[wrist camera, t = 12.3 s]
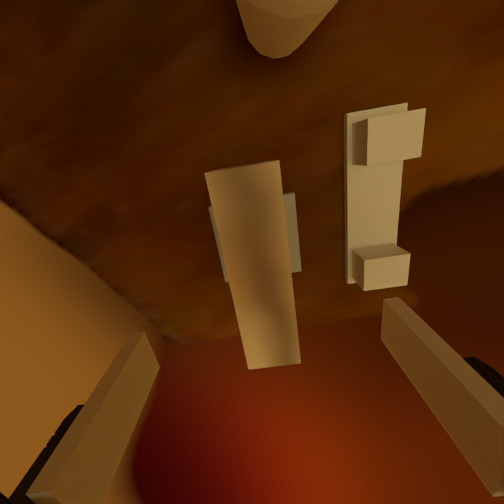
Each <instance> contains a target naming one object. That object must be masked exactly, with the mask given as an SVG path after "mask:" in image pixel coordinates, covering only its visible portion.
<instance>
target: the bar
mask: <svg viewBox="0 0 504 504" xmlns="http://www.w3.org/2000/svg"><path fill="white" fill-rule="evenodd" d="M205 178H206V182H207V187H208V191H209V196H210V200H211V204H212V209H213V213H214V218H215V222H216V227H217V231H218V236H219V240H220V244H221V249H222V253H223V258H224V262H225V267H226V271H227V276H228V280H229V285H230V289H231V293H232V298H233V302H234V307H235V311H236V316H237V320H238V325H239V329H240V333H241V338H242V342H243V347H244V351H245V356H246V360H247V365H248V369H257V368H265V367H273V366H282V365H289V364H298V363H301V359H300V351H299V341H298V331H297V322H296V312H295V303H294V294H293V284H292V275H291V266H290V256H289V247H288V238H287V228H286V219H285V210H284V200H283V191H282V181H281V172H280V163H279V160H268V161H262V162H257V163H251V164H245V165H239V166H233V167H227V168H221V169H216V170H212V171H209V172H206V173H205Z"/></svg>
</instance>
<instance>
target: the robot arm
mask: <svg viewBox="0 0 504 504" xmlns="http://www.w3.org/2000/svg"><path fill="white" fill-rule="evenodd" d="M381 340H382V341H383V343H384V344H385V346H386V347H387V349H388V350H389V351H390V353H391V354H392V355H393V357H394V358H395V360H396V361H397V363H398V364H399V365H400V367H401V368H402V370H403V371H404V372H405V374H406V375H407V377H408V378H409V380H410V381H411V382H412V384H413V385H414V386H415V388H416V389H417V391H418V392H419V394H420V395H421V396H422V398H423V399H424V401H425V402H426V403H427V405H428V406H429V408H430V409H431V410H432V412H433V413H434V415H435V416H436V418H437V419H438V420H439V422H440V423H441V425H442V426H443V427H444V429H445V430H446V432H447V433H448V434H449V436H450V437H451V438H452V440H453V441H454V443H455V444H456V446H457V447H458V449H459V450H460V451H461V453H462V454H463V456H464V457H465V458H466V460H467V461H468V463H469V464H470V465H471V467H472V468H473V470H474V471H475V472H476V474H477V475H478V477H479V478H480V479H481V481H482V482H483V484H484V485H485V486H486V488H487V489H488V491H489V492H490V494H491V495H492V496H493V497H494V496H504V378H503V377H502V376H501V375H500V374H499V373H498V372H497V371H496V370H494V369H493V368H492V367H491V366H489V365H487V364H485V363H484V362H482V361H480V360H479V359H477V358H475V357H466V358H461V357H460V356H459V355H458V354H457V353H456V352H455V351H454V350H453V349H452V348H451V347H450V346H449V345H448V344H447V343H446V342H445V341H444V340H442V338H441V337H440V336H439V335H437V334H436V333H435V332H434V331H433V330H432V329H431V328H430V327H429V326H428V325H427V324H426V323H425V322H424V321H423V320H422V319H421V318H420V317H419V316H417V314H416V313H414V312H413V311H412V310H411V309H410V308H409V307H408V306H407V305H406V304H405V303H404V302H403V301H402V300H401V299H400V298H399V297H396V298H389V299H384V303H383V316H382V329H381ZM159 368H160V367H159V364H158V362H157V360H156V358H155V355H154V353H153V351H152V348H151V346H150V344H149V341H148V339H147V337H146V334H145V332H139V333H132V334H131V335H130V336H129V338H128V339H127V341H126V342H125V344H124V346H123V347H122V348H121V350H120V351H119V353H118V354H117V356H116V357H115V359H114V360H113V362H112V363H111V365H110V367H109V368H108V370H107V371H106V373H105V374H104V376H103V377H102V379H101V380H100V382H99V383H98V385H97V386H96V388H95V389H94V391H93V392H92V394H91V396H90V397H89V398H88V400H87V402H86V403H85V404H84V405H78V406H77V407H76V408H75V409H74V410H73V411H72V412H71V413H70V414H69V415H68V416H67V417H66V418H65V419H64V420H63V422H62V423H61V425H60V426H59V427H58V429H57V430H56V432H55V435H53V436H52V437H51V439H50V441H49V442H48V443H47V446H46V448H44V449H43V450H42V452H41V453H40V455H39V456H38V457H37V459H36V460H35V462H34V463H33V465H32V466H31V468H30V469H29V471H28V472H27V473H26V475H25V476H24V478H23V479H22V480H21V482H20V483H19V485H18V486H17V488H16V489H15V490H14V492H13V493H12V495H11V496H10V497H9V499H8V498H7V497H5V496H4V495H3V494H2V493H1V492H0V504H102V503H103V501H104V499H105V496H106V494H107V492H108V489H109V487H110V484H111V482H112V479H113V477H114V475H115V473H116V470H117V468H118V465H119V463H120V461H121V458H122V456H123V454H124V451H125V449H126V446H127V444H128V442H129V439H130V437H131V434H132V432H133V430H134V427H135V425H136V422H137V420H138V418H139V415H140V413H141V411H142V408H143V406H144V404H145V401H146V399H147V396H148V394H149V392H150V389H151V387H152V384H153V382H154V380H155V377H156V375H157V373H158V370H159Z"/></svg>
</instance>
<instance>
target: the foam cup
mask: <svg viewBox="0 0 504 504" xmlns="http://www.w3.org/2000/svg"><path fill="white" fill-rule="evenodd" d="M338 1H339V0H236V3H237V6H238V9H239V12H240V16H241V19H242V22H243V25H244V28H245V32H246V35H247V38H248V41H249V42H250V43H251V44H252V45H253V47H254V48H255V49H256V50H257V51H258V52H259V54H262V55H265V56H267V57H270V58H272V59H275V58H280V57H286V56H288V55H290V54H291V53H292V52H293V51H294V50H296V49H297V48H298V47H299V46H300V45H301V44H302V43H303V42H304V41H305V40H306V39H307V37H308V36H309V35H310V34H311V33H312V31H313V30H314V29H315V28H316V27H317V26H318V24H319V23H320V22H321V21H322V20H323V18H324V17H325V16H326V15H327V14H328V13H329V11H330V10H331V9H332V8H333V7H334V5H335V4H336V3H337V2H338Z"/></svg>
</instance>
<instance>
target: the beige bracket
mask: <svg viewBox="0 0 504 504" xmlns="http://www.w3.org/2000/svg"><path fill="white" fill-rule="evenodd" d="M407 106H408V103H403V104H398V105H392V106H386V107H381V108H375V109H370V110H364V111H358V112H353V113H347V114H345V115H343V117H344V227H345V281H346V282H347V284H351V283H357V284H358V285H359V286H360V287H361V288H362V290H363V291H367V290H374V289H382V288H389V287H396V286H404V285H407V281H408V272H409V263H410V253H408V252H407V251H405V250H403V249H402V248H400V247H398V246H397V245H396V243H397V229H398V218H399V205H400V193H401V181H402V168H403V160H405V159H411V158H417V157H421V151H422V141H423V132H424V122H425V113H426V108H423V109H418V110H412V111H407Z"/></svg>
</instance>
